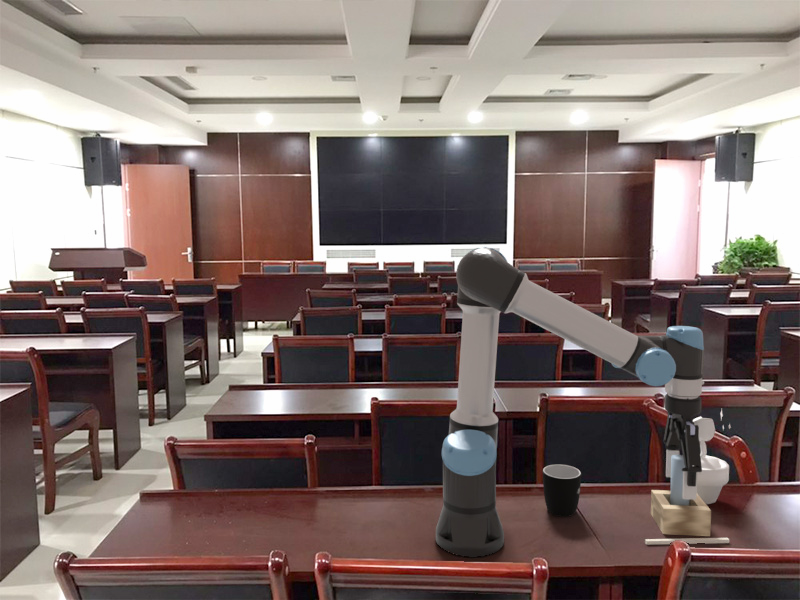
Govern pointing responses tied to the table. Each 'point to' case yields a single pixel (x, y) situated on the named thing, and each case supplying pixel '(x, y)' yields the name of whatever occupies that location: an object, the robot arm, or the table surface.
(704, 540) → the white thin rod
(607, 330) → the robot arm
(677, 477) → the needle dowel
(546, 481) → the mug
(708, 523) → the wooden box
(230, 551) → the table surface
